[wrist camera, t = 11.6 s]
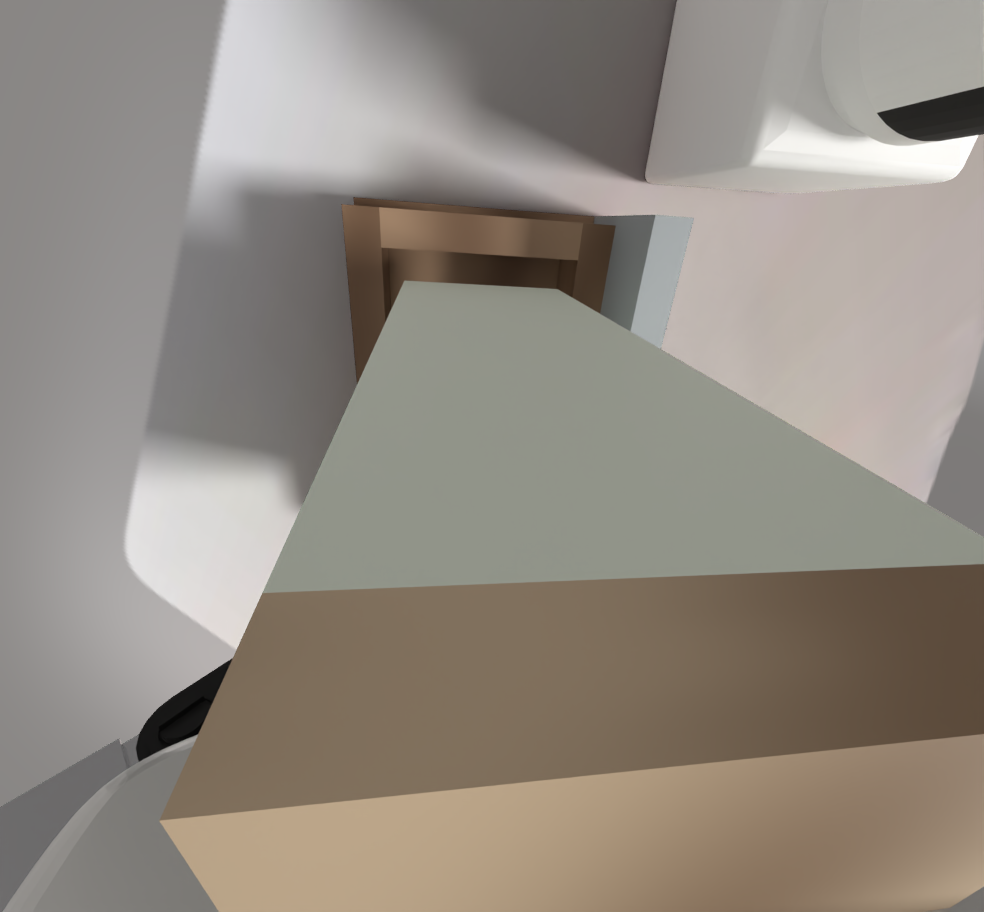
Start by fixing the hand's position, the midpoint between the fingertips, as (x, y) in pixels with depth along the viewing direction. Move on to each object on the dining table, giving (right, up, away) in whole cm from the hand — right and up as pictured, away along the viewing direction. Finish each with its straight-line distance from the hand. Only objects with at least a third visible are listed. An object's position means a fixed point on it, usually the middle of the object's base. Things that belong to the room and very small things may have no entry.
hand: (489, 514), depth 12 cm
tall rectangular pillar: (-1, +2, +4) cm, 5 cm away
